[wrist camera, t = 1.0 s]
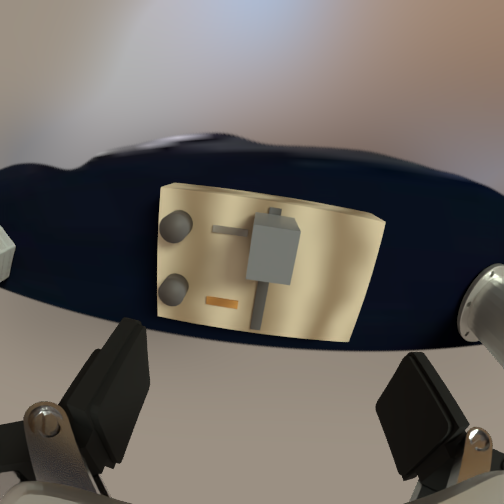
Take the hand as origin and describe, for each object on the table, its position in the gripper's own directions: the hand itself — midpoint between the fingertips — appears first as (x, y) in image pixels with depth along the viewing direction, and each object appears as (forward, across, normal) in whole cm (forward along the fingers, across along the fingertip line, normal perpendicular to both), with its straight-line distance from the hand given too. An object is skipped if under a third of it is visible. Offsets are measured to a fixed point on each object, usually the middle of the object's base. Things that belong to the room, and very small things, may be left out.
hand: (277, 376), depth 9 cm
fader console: (+20, -1, +3) cm, 20 cm away
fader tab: (+16, 0, 0) cm, 16 cm away
